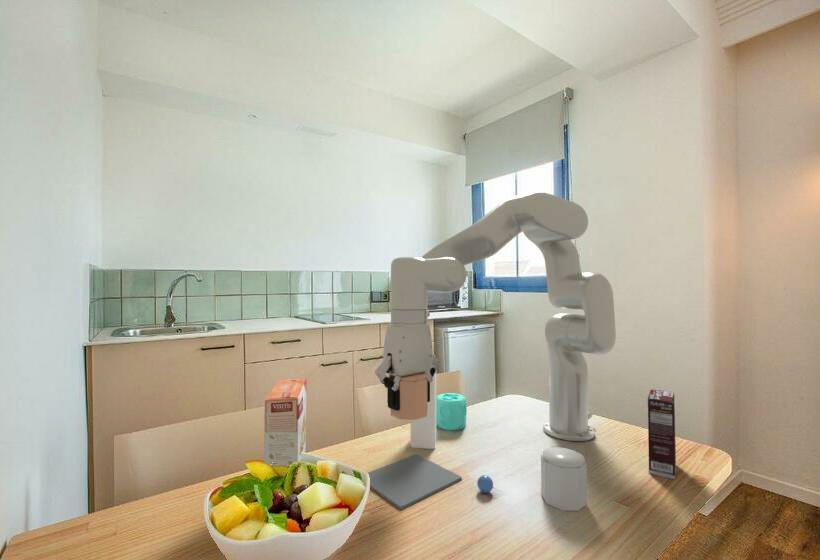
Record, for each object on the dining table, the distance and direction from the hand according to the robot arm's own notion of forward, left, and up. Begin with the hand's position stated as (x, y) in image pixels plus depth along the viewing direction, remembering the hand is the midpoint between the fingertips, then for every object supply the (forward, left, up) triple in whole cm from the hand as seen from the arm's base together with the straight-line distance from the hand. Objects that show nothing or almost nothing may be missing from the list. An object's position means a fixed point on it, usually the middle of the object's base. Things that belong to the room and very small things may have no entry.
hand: (409, 404), depth 78 cm
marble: (-8, +13, -15) cm, 22 cm away
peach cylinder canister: (0, 0, -2) cm, 2 cm away
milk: (-14, -11, -16) cm, 24 cm away
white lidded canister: (-17, +24, -15) cm, 33 cm away
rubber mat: (0, 0, -15) cm, 15 cm away
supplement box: (-44, +32, -16) cm, 57 cm away
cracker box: (+22, -9, -16) cm, 28 cm away
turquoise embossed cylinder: (-28, -15, -16) cm, 35 cm away
